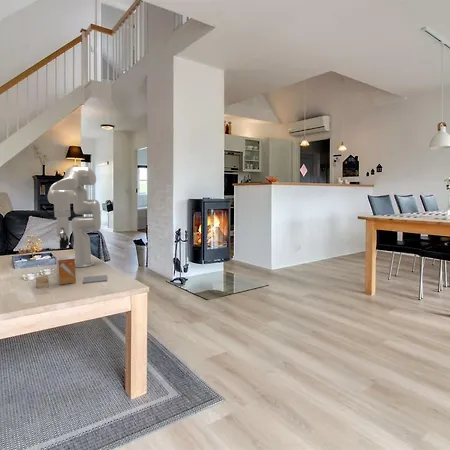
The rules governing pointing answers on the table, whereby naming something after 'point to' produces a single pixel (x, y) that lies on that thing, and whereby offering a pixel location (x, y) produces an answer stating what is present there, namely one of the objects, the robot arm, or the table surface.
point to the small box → (66, 270)
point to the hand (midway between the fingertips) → (64, 246)
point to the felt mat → (95, 279)
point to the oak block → (42, 281)
